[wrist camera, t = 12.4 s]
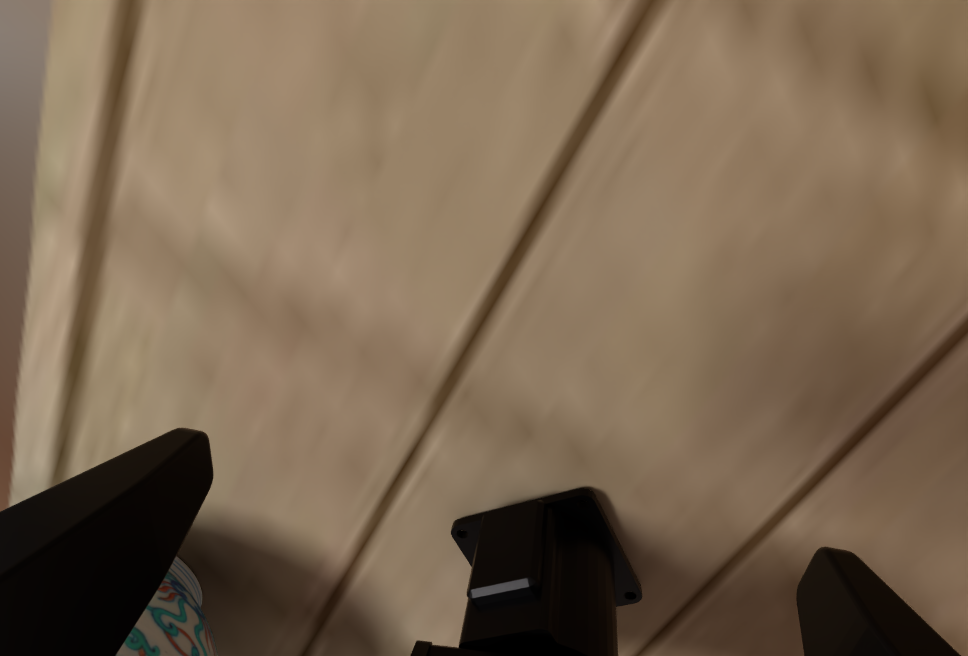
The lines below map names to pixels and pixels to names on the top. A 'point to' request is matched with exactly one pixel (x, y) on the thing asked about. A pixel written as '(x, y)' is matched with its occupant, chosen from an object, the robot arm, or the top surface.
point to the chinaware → (172, 620)
